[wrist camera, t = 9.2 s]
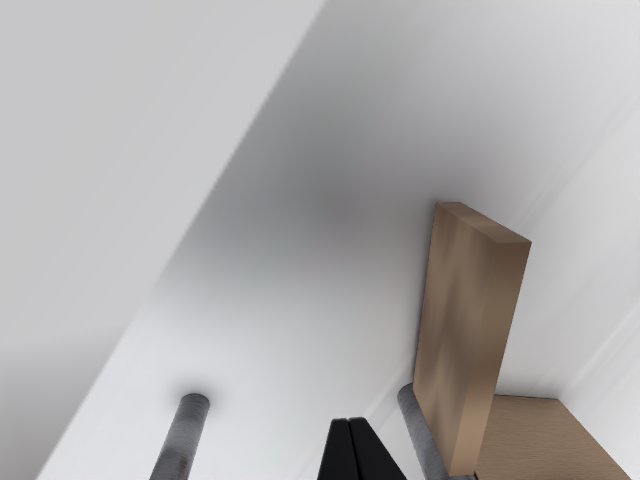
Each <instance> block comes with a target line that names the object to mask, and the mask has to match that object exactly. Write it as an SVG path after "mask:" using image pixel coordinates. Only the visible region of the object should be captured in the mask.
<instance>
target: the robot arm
mask: <svg viewBox="0 0 640 480" xmlns="http://www.w3.org/2000/svg"><path fill="white" fill-rule="evenodd" d="M317 480H407V479H406V477H405V476H404V474H403V473H402V471H401V470H400V468H399V467H398V465H397V464H396V463H395V461H394V460H393V458H392V457H391V455H390V454H389V452H388V451H387V449H386V448H385V446H384V445H383V444H382V442H381V441H380V439H379V438H378V436H377V435H376V433H375V432H374V430H373V429H372V427H371V426H370V424H369V423H368V422H367V420H366V419H365V418H364V417H354V418H349V420H347V419H346V418H340V419H333V420H332V421H331V425H330V429H329V433H328V437H327V441H326V445H325V449H324V453H323V457H322V461H321V465H320V469H319V473H318V477H317Z"/></svg>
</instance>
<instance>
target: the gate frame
mask: <svg viewBox="0 0 640 480" xmlns="http://www.w3.org/2000/svg"><path fill="white" fill-rule="evenodd" d="M398 403H399V405H400V408H401V411H402V414H403V417H404V420H405V423H406V425H407V428H408V431H409V434H410V437H411V440H412V443H413V445H414V448H415V451H416V454H417V457H418V460H419V463H420V465H421V468H422V471H423V474H424V477H425V480H631V479H630V477H629V476H628V475H627V474H626V473H625V472H624V471H623V470H622V469H621V468H620V466H619V465H618V464H617V463H616V462H615V461H614V460H613V459H612V458H611V457H610V455H609V454H608V453H607V452H606V451H605V450H604V449H603V448H602V447H601V446H600V445H599V443H598V442H597V441H596V440H595V439H594V438H593V437H592V436H591V435H590V434H589V432H588V431H587V430H586V429H585V428H584V427H583V426H582V425H581V424H580V423H579V421H578V420H577V419H576V418H575V417H574V416H573V415H572V414H571V413H570V412H569V411H568V409H567V408H566V407H565V406H564V405H563V404H562V403H561V402H560V401H559V400H557V399H544V398H530V397H516V396H503V395H493V399H492V403H491V407H490V411H489V415H488V419H487V423H486V427H485V431H484V435H483V439H482V443H481V447H480V451H479V455H478V459H477V463H476V467H475V471H474V475H463V476H450V477H449V475H448V473H447V470H446V468H445V465H444V463H443V461H442V458H441V456H440V454H439V451H438V449H437V446H436V444H435V442H434V439H433V437H432V434H431V432H430V430H429V427H428V425H427V422H426V420H425V418H424V415H423V413H422V410H421V408H420V406H419V403H418V401H417V399H416V396H415V394H414V391H413V383H411V384H408V385H406V386H405V387H404V388H402V389H401V391H400V392H399V394H398ZM209 406H210V404H209V401H208V400H207V399H206V398H205V397H204V396H202V395H198V394H190V395H187V396H185V397H183V398H182V400H181V402H180V405H179V407H178V409H177V412H176V414H175V417H174V419H173V422H172V424H171V427H170V429H169V432H168V434H167V437H166V439H165V442H164V444H163V447H162V449H161V452H160V454H159V457H158V459H157V462H156V464H155V467H154V469H153V472H152V474H151V477H150V479H149V480H188V477H189V474H190V470H191V467H192V464H193V460H194V457H195V454H196V450H197V447H198V443H199V440H200V437H201V433H202V430H203V427H204V423H205V420H206V417H207V413H208V410H209Z"/></svg>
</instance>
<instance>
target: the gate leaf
mask: <svg viewBox="0 0 640 480" xmlns="http://www.w3.org/2000/svg"><path fill="white" fill-rule="evenodd" d="M531 243H532V242H531V241H529V240H528V239H526V238H524V237H522V236H520V235H519V234H517V233H515V232H513V231H511V230H509V229H508V228H506V227H504V226H502V225H500V224H499V223H497V222H495V221H493V220H491V219H489V218H488V217H486V216H484V215H482V214H480V213H479V212H477V211H475V210H473V209H471V208H469V207H468V206H466V205H464V204H462V203H460V202H448V203H436V205H435V213H434V221H433V229H432V237H431V245H430V253H429V261H428V269H427V277H426V285H425V293H424V302H423V310H422V318H421V326H420V334H419V342H418V350H417V358H416V366H415V374H414V382H413V391H414V394H415V396H416V399H417V401H418V403H419V406H420V408H421V410H422V413H423V415H424V418H425V420H426V422H427V425H428V427H429V430H430V432H431V434H432V437H433V439H434V442H435V444H436V446H437V449H438V451H439V454H440V456H441V458H442V461H443V463H444V465H445V468H446V470H447V473H448V475H449V477H450V476H463V475H474V471H475V467H476V463H477V459H478V455H479V451H480V447H481V443H482V439H483V435H484V431H485V427H486V423H487V419H488V415H489V411H490V407H491V403H492V399H493V395H494V391H495V387H496V383H497V379H498V375H499V371H500V367H501V363H502V359H503V355H504V351H505V347H506V343H507V339H508V335H509V331H510V327H511V323H512V319H513V315H514V311H515V307H516V303H517V299H518V295H519V291H520V287H521V283H522V279H523V275H524V271H525V267H526V263H527V259H528V255H529V251H530V247H531Z"/></svg>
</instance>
